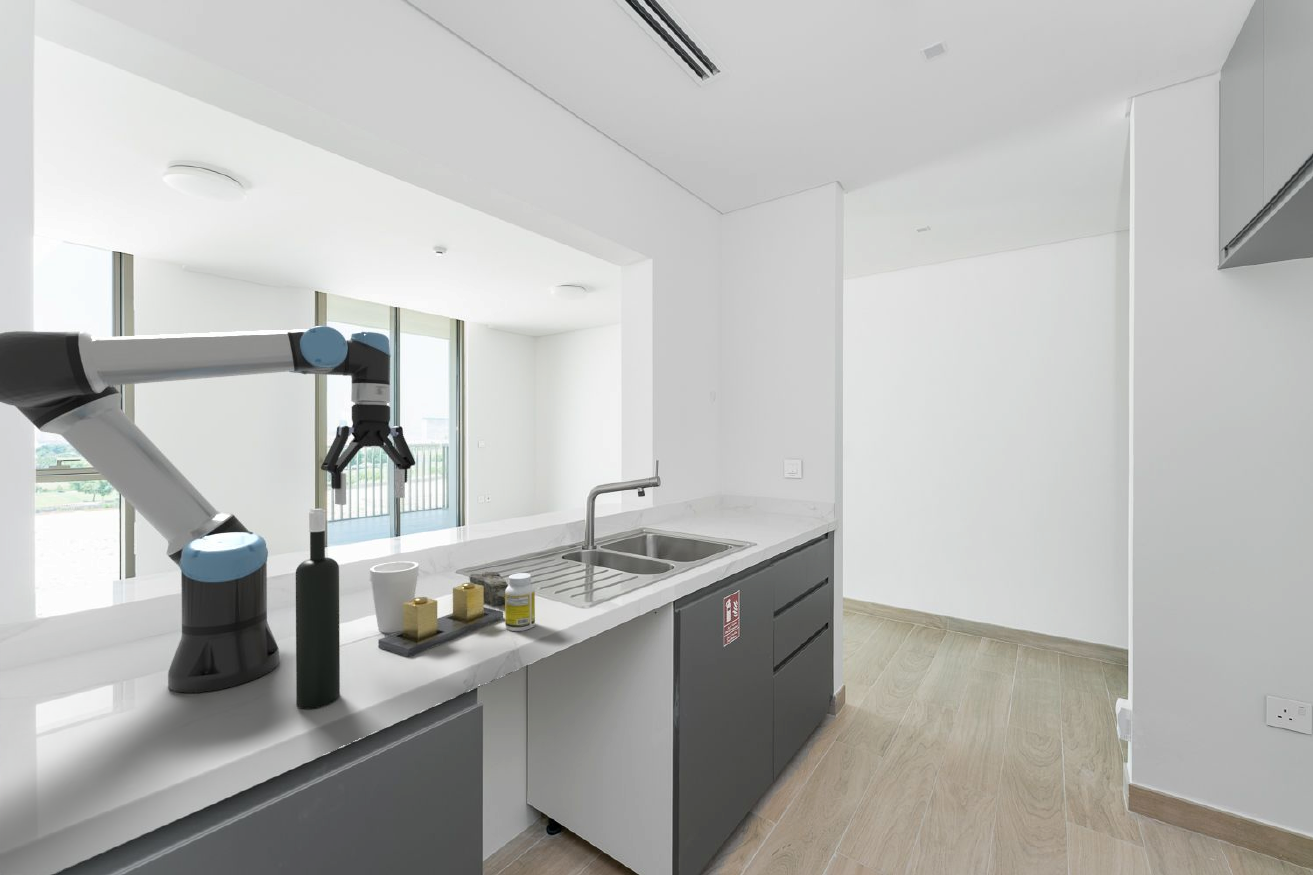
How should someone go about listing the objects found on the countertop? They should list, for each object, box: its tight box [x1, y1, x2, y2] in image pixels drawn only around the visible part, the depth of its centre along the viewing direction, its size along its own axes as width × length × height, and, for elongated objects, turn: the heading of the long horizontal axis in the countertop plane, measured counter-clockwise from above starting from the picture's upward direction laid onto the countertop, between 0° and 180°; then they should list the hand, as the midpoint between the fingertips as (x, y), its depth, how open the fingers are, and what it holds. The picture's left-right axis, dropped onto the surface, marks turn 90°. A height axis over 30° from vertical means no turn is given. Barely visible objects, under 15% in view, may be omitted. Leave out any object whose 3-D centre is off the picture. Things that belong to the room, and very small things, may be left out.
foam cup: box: [369, 560, 420, 634], centre depth 117 cm, size 10×9×13 cm
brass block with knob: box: [402, 596, 438, 643], centre depth 109 cm, size 4×4×9 cm
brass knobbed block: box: [452, 582, 484, 623], centre depth 119 cm, size 4×4×9 cm
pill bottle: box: [504, 572, 536, 632], centre depth 117 cm, size 6×6×11 cm
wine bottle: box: [295, 507, 341, 710], centre depth 85 cm, size 6×6×30 cm
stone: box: [468, 571, 509, 607], centre depth 136 cm, size 14×7×10 cm, turn 52°
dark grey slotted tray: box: [377, 606, 504, 658], centre depth 114 cm, size 24×9×2 cm, turn 150°
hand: (371, 500), depth 120 cm, fingers open, 13 cm apart
